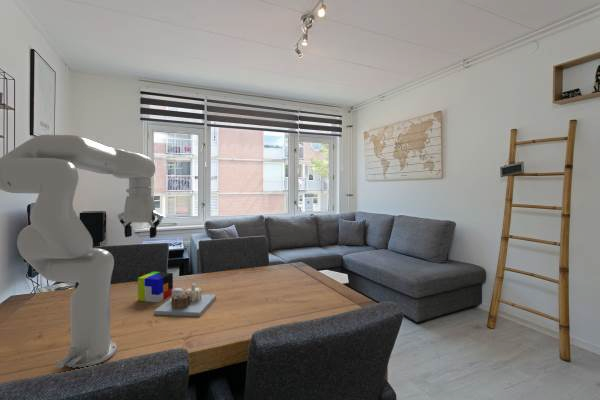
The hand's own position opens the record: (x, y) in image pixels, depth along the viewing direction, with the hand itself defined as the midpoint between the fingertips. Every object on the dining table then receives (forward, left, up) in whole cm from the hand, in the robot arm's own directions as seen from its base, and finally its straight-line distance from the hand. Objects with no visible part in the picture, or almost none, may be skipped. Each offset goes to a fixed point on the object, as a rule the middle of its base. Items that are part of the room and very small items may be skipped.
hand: (140, 237), depth 113 cm
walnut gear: (+6, -13, -29) cm, 32 cm away
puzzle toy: (+18, +4, -31) cm, 36 cm away
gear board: (+10, -14, -30) cm, 35 cm away
